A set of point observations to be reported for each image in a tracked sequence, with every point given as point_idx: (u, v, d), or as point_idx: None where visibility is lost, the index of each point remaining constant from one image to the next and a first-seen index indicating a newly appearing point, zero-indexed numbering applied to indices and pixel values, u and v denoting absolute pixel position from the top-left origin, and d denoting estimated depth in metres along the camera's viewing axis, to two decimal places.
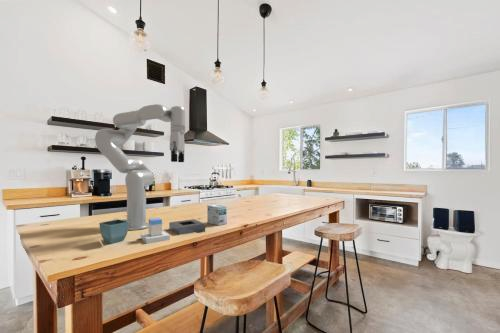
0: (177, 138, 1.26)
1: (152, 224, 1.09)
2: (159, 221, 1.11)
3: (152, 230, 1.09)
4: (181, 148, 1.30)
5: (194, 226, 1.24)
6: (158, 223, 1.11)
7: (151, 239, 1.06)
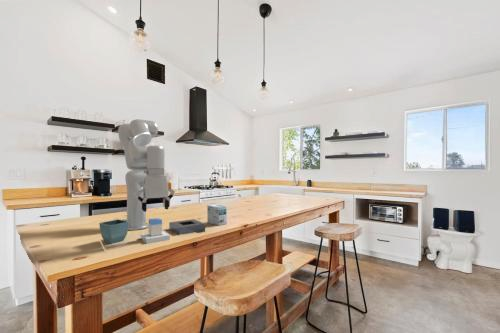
0: None
1: (152, 224, 1.09)
2: (159, 221, 1.11)
3: (152, 230, 1.09)
4: None
5: (194, 226, 1.24)
6: (158, 223, 1.11)
7: (151, 239, 1.06)
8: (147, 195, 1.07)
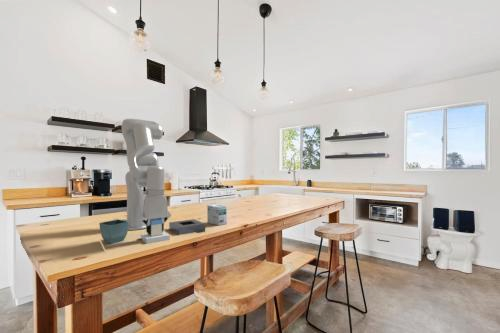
0: None
1: (152, 224, 1.09)
2: (159, 221, 1.11)
3: (152, 230, 1.09)
4: None
5: (194, 226, 1.24)
6: (158, 223, 1.11)
7: (151, 239, 1.06)
8: (147, 216, 1.07)
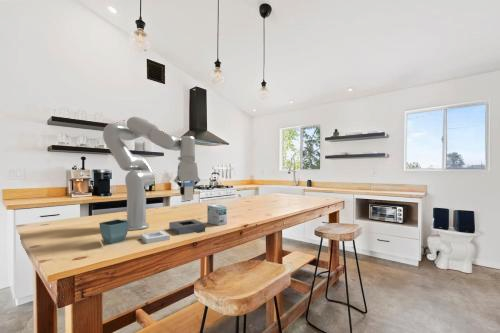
0: None
1: (185, 186, 1.26)
2: (191, 184, 1.28)
3: (185, 191, 1.26)
4: None
5: (194, 226, 1.24)
6: (190, 185, 1.27)
7: (151, 239, 1.06)
8: (181, 179, 1.24)
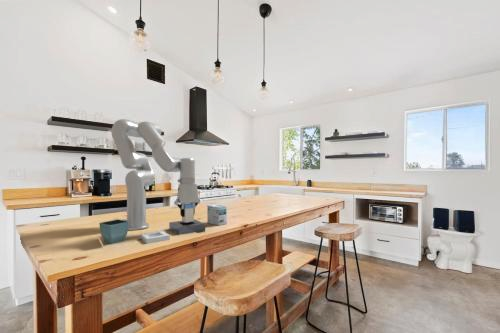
0: None
1: (186, 208, 1.26)
2: (191, 205, 1.27)
3: (186, 213, 1.26)
4: None
5: (194, 226, 1.24)
6: (190, 207, 1.27)
7: (151, 239, 1.06)
8: (181, 201, 1.24)
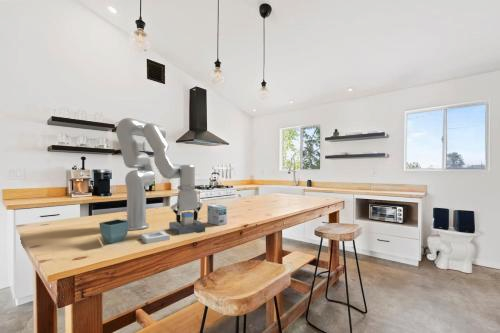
0: None
1: (185, 217, 1.26)
2: (191, 214, 1.27)
3: (185, 222, 1.26)
4: None
5: (194, 226, 1.24)
6: (190, 216, 1.27)
7: (151, 239, 1.06)
8: (181, 208, 1.24)
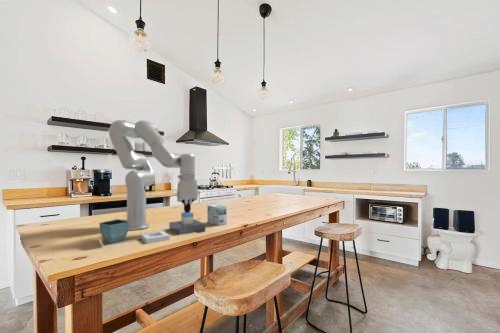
0: None
1: (185, 217, 1.26)
2: (191, 214, 1.27)
3: (185, 222, 1.26)
4: None
5: (194, 226, 1.24)
6: (190, 216, 1.27)
7: (151, 239, 1.06)
8: (181, 197, 1.24)
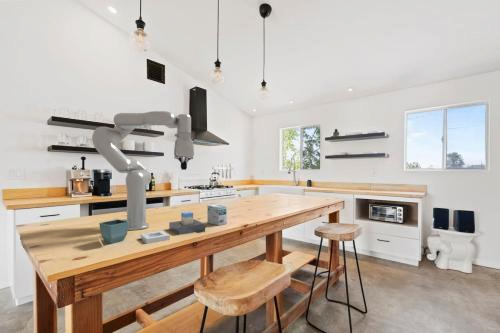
0: None
1: (185, 217, 1.26)
2: (191, 214, 1.27)
3: (185, 222, 1.26)
4: None
5: (194, 226, 1.24)
6: (190, 216, 1.27)
7: (151, 239, 1.06)
8: (178, 154, 1.32)
